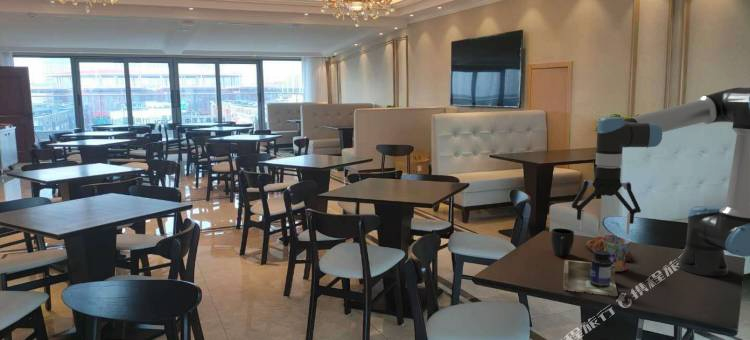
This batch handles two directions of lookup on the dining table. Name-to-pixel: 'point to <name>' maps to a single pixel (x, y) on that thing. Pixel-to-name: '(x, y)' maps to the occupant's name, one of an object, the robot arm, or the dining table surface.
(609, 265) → the pill bottle
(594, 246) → the pastry
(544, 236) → the dining table surface
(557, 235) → the mug
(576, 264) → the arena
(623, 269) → the mug
